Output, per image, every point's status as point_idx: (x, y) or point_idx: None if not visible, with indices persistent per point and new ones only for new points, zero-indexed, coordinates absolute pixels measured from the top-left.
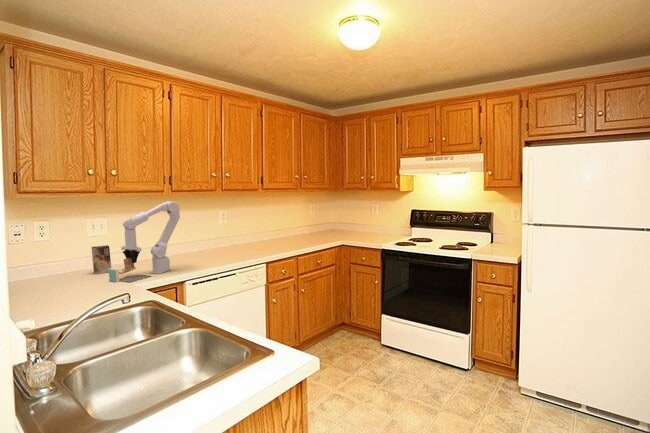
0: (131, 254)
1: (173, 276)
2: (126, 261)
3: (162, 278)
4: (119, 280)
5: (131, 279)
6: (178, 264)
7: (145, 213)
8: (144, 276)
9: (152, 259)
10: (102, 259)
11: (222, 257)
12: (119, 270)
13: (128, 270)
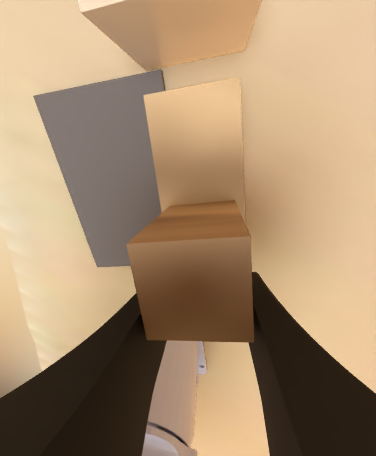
0: (35, 398)
1: (23, 307)
2: (170, 230)
3: (17, 265)
4: (148, 72)
5: (102, 152)
6: (226, 431)
7: None
8: (116, 243)
9: (153, 411)
10: None
11: None
12: (239, 128)
13: (160, 188)
